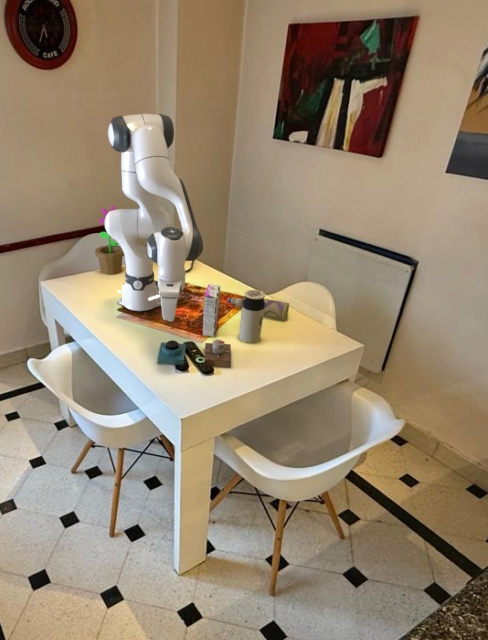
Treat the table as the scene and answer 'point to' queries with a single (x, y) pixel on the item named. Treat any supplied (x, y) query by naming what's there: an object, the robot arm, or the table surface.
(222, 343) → the dial knob
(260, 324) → the travel mug
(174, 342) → the button
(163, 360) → the button box
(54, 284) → the table surface
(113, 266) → the flowerpot
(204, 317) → the candy bar box
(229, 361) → the dial panel
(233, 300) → the decorative bottle
